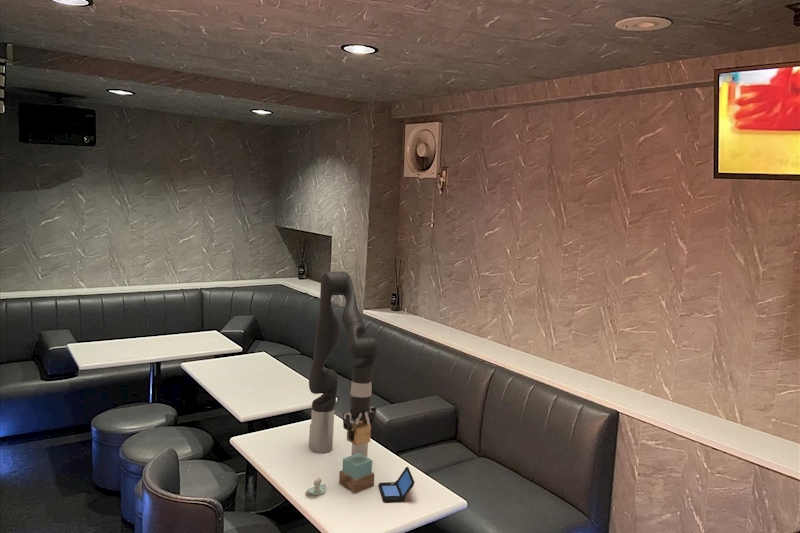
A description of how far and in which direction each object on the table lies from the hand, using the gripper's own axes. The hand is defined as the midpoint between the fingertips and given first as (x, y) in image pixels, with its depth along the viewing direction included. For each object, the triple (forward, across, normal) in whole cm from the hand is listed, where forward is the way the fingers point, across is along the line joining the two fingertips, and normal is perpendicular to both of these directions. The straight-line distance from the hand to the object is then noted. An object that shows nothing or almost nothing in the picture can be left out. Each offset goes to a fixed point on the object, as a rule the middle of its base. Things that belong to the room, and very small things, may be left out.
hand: (358, 437), depth 202 cm
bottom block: (+18, 0, 0) cm, 18 cm away
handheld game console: (+18, -8, +13) cm, 24 cm away
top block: (+13, 0, 0) cm, 13 cm away
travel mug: (+18, -11, -12) cm, 24 cm away
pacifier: (+18, +15, -4) cm, 24 cm away
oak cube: (+1, 0, 0) cm, 1 cm away
